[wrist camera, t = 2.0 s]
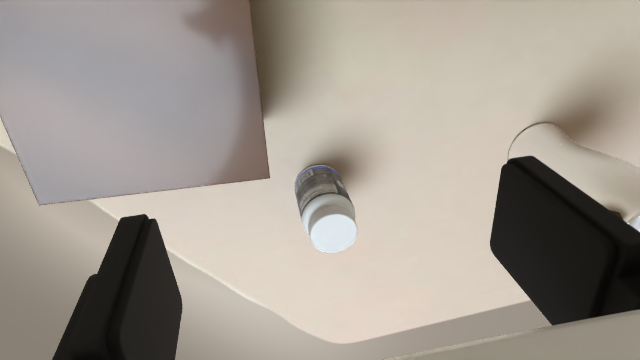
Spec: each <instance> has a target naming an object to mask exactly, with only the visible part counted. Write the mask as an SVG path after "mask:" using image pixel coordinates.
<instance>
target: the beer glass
mask: <svg viewBox="0 0 640 360" xmlns="http://www.w3.org/2000/svg"><path fill="white" fill-rule="evenodd" d="M523 156H534V157H536V158H537V159H538V160H540V161H541V162H543V163H544V164H545V165H547V166H548V167H550V168H551V169H552V170H554V171H555V172H557V173H558V174H559V175H561V176H562V177H564V178H565V179H566V180H568V181H569V182H571V183H572V184H573V185H575V186H576V187H578V188H579V189H580V190H582V191H583V192H585V193H586V194H587V195H589V196H590V197H592V198H593V199H594V200H596V201H597V202H599V203H600V204H601V205H603V206H604V207H606V208H607V209H608V210H610V211H611V212H613V213H614V214H615V215H617V216H618V217H620V218H621V219H622V220H624V221H625V222H627V223H628V224H629V225H631V226H632V227H634V228H635V229H636V230H638V231H639V232H640V168H639V167H637V166H635V165H633V164H631V163H629V162H627V161H624V160H622V159H619V158H617V157H614V156H611V155H608V154H605V153H602V152H599V151H596V150H593V149H590V148H587V147H584V146H581V145H579V144H577V143H575V142H574V141H572V140H571V139H570V138H569V137H568V136H567V135H566V134H565V133H564V132H563V131H562V130H561V129H560V128H558V127H557V126H555V125H553V124H549V123H540V124H536V125H533V126H531V127H529V128H527V129H526V130H524V131H523V132H522V133H521V134H520V135H519V136H518V137H517V138H516V139H515V140H514V142H513V143H512V145H511V148H510V150H509V154H508V160H509V159H511V158H516V157H523Z"/></svg>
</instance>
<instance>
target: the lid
mask: <svg viewBox="0 0 640 360" xmlns="http://www.w3.org/2000/svg"><path fill="white" fill-rule="evenodd" d="M0 117H1V120H2V122H3V124H4V126H5V129H6V131H7V133H8V136H9V138H10V140H11V142H12V145H13V147H14V149H15V152H16V154H17V156H18V158H19V161H20V163H21V165H22V167H23V170H24V172H25V174H26V176H27V179H28V181H29V184H30V186H31V188H32V190H33V193H34V195H35V197H36V199H37V202H38V204H39V205H46V204H53V203H54V204H55V203H63V202H71V201H80V200H89V199H97V198H106V197H114V196H123V195H131V194H140V193H148V192H157V191H165V190H174V189H182V188H191V187H199V186H208V185H216V184H225V183H233V182H242V181H250V180H259V179H267V178H270V175H269V166H268V157H267V149H266V140H265V131H264V122H263V114H262V105H261V96H260V87H259V79H258V70H257V61H256V53H255V44H254V35H253V26H252V18H251V9H250V0H0Z"/></svg>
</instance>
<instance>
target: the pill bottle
mask: <svg viewBox="0 0 640 360" xmlns="http://www.w3.org/2000/svg"><path fill="white" fill-rule="evenodd" d="M295 194H296V198H297V203H298V207H299V211H300V216H301V220H302V224H303V227H304V229H305V231H306V232H307V234H308V235H309V236H310V240H311V242H312V244H313V245H314V247H315V248H317V249H318V250H320V251H322V252H325V253H337V252H341V251H343V250H345V249H347V248H348V247H350V246H351V245H352V244H353V242H354V241H355V239H356V236H357V225H356V222H355V210H354V206H353V204H352V202H351V200H350V198H349V195H348V193H347V191H346V189H345V186H344V184H343V182H342V180H341V177H340V176H339V174H338V172H337V171H336V170H334V169H333V168H331V167H329V166H326V165H314V166H311V167H308V168H306V169H305V170H303V171H302V172H301V173H300V174H299V176H298V177H297V179H296V182H295Z"/></svg>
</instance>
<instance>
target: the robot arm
mask: <svg viewBox="0 0 640 360" xmlns="http://www.w3.org/2000/svg"><path fill="white" fill-rule="evenodd" d="M490 247H491V250H492V253H493V254H494V256H495V257H496V258H497V259H498V260H499V262H500V263H501V264H502V265H503V266H504V268H505V269H506V270H507V271H508V272H509V274H510V275H511V276H512V277H513V279H514V280H515V281H516V282H517V283H518V285H519V286H520V287H521V288H522V289H523V291H524V292H525V293H526V294H527V295H528V297H529V298H530V299H531V300H532V301H533V303H534V304H535V305H536V306H537V307H538V309H539V310H540V311H541V312H542V314H543V315H544V316H545V317H546V318H547V320H548V321H549V322H550V323H551V324H552V326H548V327H543V328H538V329H533V330H528V331H523V332H517V333H513V334H507V335H502V336H497V337H492V338H487V339H482V340H477V341H472V342H467V343H462V344H457V345H453V346H447V347H442V348H437V349H432V350H428V351H422V352H417V353H412V354H407V355H402V356H397V357H393V358H388V359H383V360H640V232H639V231H638V230H636V229H635V228H634V227H632V226H631V225H629V224H628V223H627V222H625V221H624V220H622V219H621V218H620V217H618V216H617V215H615V214H614V213H613V212H611V211H610V210H608V209H607V208H606V207H604V206H603V205H601V204H600V203H599V202H597V201H596V200H594V199H593V198H592V197H590V196H589V195H587V194H586V193H585V192H583V191H582V190H580V189H579V188H578V187H576V186H575V185H573V184H572V183H571V182H569V181H568V180H566V179H565V178H564V177H562V176H561V175H559V174H558V173H557V172H555V171H554V170H552V169H551V168H550V167H548V166H547V165H545V164H544V163H543V162H541V161H540V160H538V159H537V158H536V157H534V156H523V157H516V158H511V159H509V160H508V162H507V164H505V165H503V167H502V169H501V175H500V181H499V188H498V194H497V200H496V207H495V213H494V220H493V226H492V233H491V239H490ZM181 314H182V299H181V295H180V292H179V289H178V286H177V282H176V279H175V276H174V273H173V270H172V267H171V264H170V261H169V257H168V254H167V251H166V248H165V245H164V242H163V239H162V236H161V233H160V230H159V226H158V223H157V221H156V219H149V218H148V217H147V215H145V214H142V215H136V216H129V217H123V218H121V219H120V221H119V223H118V226H117V228H116V230H115V233H114V235H113V238H112V240H111V242H110V245H109V247H108V249H107V252H106V254H105V257H104V259H103V261H102V264H101V266H100V268H99V271H98V273H97V274H94V275H92V276H90V277H89V279H88V280H87V282H86V284H85V287H84V289H83V291H82V293H81V296H80V298H79V300H78V303H77V305H76V307H75V309H74V312H73V314H72V316H71V318H70V321H69V323H68V325H67V327H66V330H65V332H64V334H63V337H62V339H61V341H60V343H59V346H58V348H57V350H56V352H55V355H54V357H53V359H52V360H175V355H176V348H177V341H178V335H179V328H180V321H181Z"/></svg>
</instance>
